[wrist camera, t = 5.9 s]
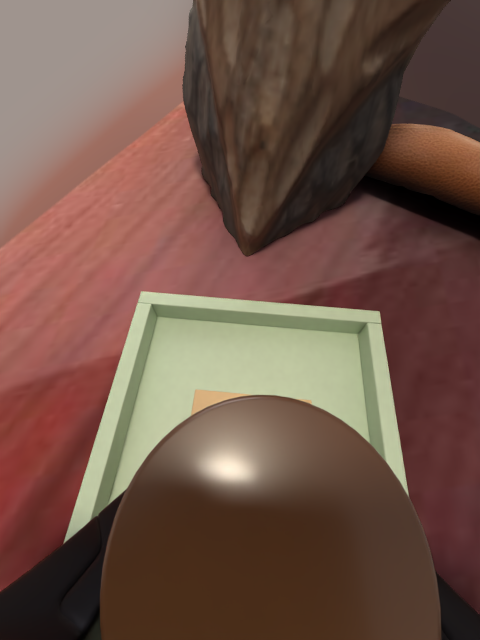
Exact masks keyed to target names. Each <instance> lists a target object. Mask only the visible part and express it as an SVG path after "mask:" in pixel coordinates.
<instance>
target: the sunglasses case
mask: <svg viewBox="0 0 480 640" xmlns="http://www.w3.org/2000/svg"><path fill="white" fill-rule="evenodd" d="M365 175H366V176H368V177H370V178H374V179H377V180H381V181H385V182H387V183H390V184H392V185H397V186H403V187H405V188H407V189H409V190H412V191H416V192H420V193H424V194H428V195H432V196H434V197H435V198H437V199H439V200H441V201H444V202H446V203H449V204H451V205H453V206H456V207H458V208H460V209H463V210H465V211H468V212H470V213H473V214H477V215H480V142H477V141H475V140H474V139H471V138H469V137H466V136H463V135H461V134H459V133H457V132H454V131H452V130H449V129H445V128H442V127H435V126H430V125H419V124H392V125H391V128H390V131H389V134H388V138H387V140H386V144H385V147H384V150H383V152H382V153H381V155H380V156H379V157H378V159H377V161H376V162H375V163H374V164H373V165H372V167H371V168H370V169H369V170H368V172H367V173H366V174H365Z"/></svg>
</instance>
